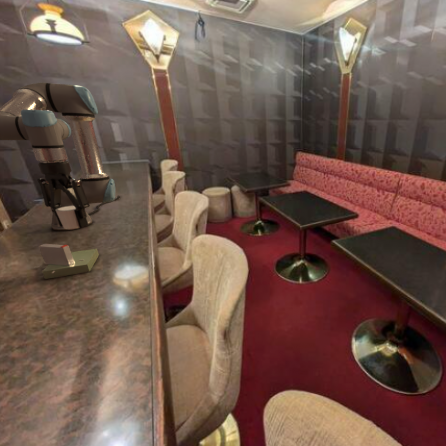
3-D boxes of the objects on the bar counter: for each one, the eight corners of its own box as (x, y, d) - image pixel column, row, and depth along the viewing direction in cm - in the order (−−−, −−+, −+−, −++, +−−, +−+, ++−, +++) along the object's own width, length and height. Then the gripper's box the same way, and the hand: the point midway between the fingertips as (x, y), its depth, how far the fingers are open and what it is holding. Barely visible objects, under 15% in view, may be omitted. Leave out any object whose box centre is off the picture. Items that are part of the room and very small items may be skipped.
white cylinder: (72, 230, 85) (66, 211, 83) (56, 228, 87) (49, 209, 84) (91, 224, 92) (86, 206, 89) (76, 222, 93) (70, 204, 90)
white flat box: (45, 264, 86) (38, 245, 83) (51, 261, 87) (44, 242, 85) (69, 265, 85) (62, 247, 82) (74, 263, 87) (68, 244, 84)
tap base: (49, 262, 92) (46, 255, 91) (98, 255, 98) (96, 248, 97) (28, 285, 79) (25, 277, 78) (87, 275, 85) (85, 267, 84)
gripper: (91, 161, 84) (108, 223, 92) (37, 158, 85) (59, 220, 93) (70, 163, 77) (91, 231, 85) (12, 161, 78) (38, 228, 86)
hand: (74, 225), depth 89 cm, fingers closed on white cylinder, 7 cm apart
